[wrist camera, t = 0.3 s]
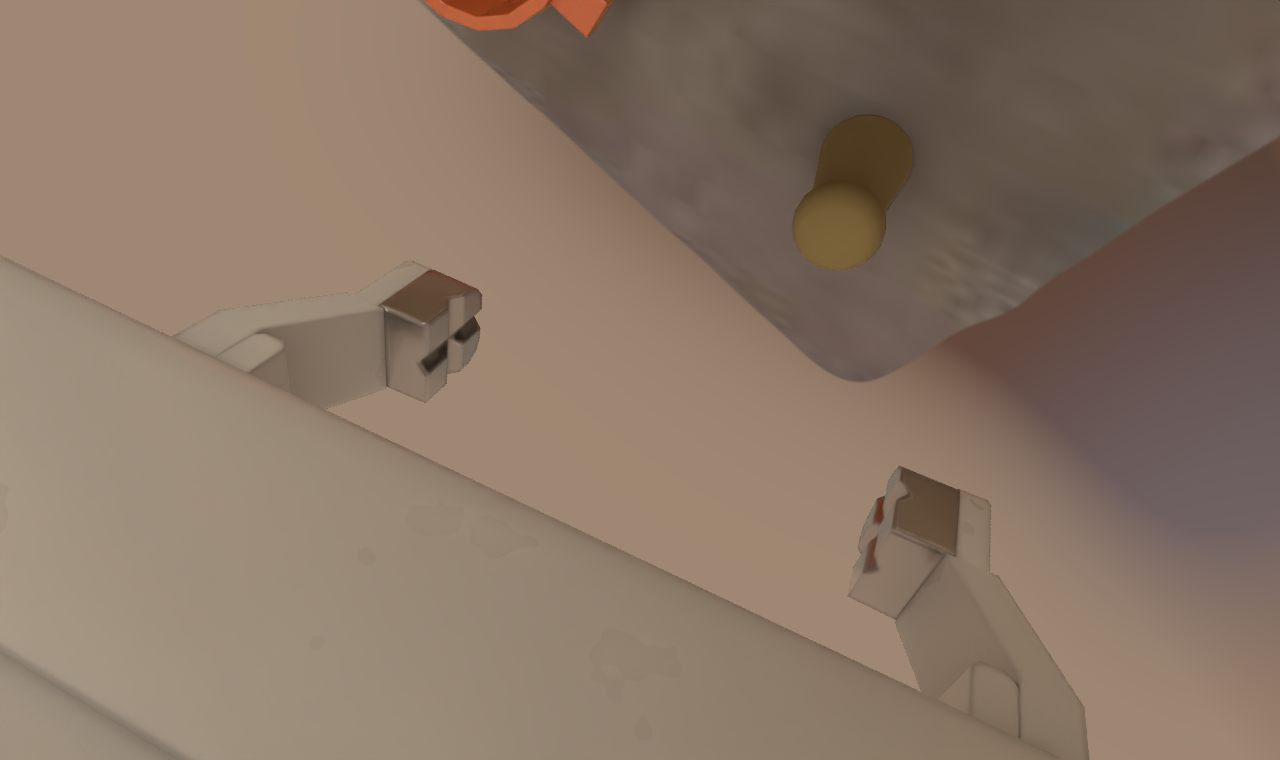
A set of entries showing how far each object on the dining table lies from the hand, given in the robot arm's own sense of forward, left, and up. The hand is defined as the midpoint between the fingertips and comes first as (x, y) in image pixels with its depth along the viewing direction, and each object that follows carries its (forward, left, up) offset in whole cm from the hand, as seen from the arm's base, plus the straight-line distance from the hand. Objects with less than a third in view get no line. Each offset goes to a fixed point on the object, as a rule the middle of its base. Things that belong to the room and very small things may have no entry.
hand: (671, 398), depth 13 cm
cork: (+12, +1, -39) cm, 41 cm away
